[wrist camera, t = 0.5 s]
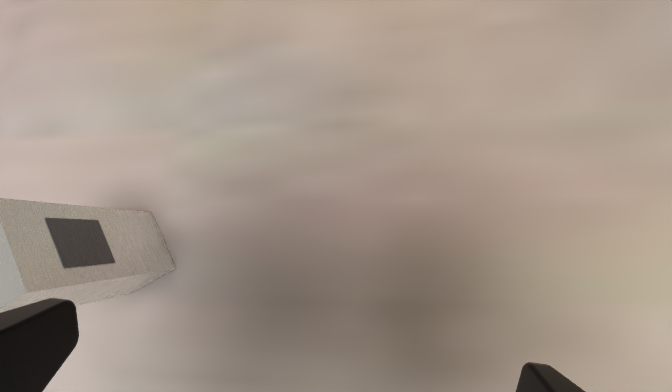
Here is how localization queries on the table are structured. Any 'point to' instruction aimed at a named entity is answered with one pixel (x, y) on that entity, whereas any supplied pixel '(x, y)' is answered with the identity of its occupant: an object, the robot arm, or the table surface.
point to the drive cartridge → (76, 252)
